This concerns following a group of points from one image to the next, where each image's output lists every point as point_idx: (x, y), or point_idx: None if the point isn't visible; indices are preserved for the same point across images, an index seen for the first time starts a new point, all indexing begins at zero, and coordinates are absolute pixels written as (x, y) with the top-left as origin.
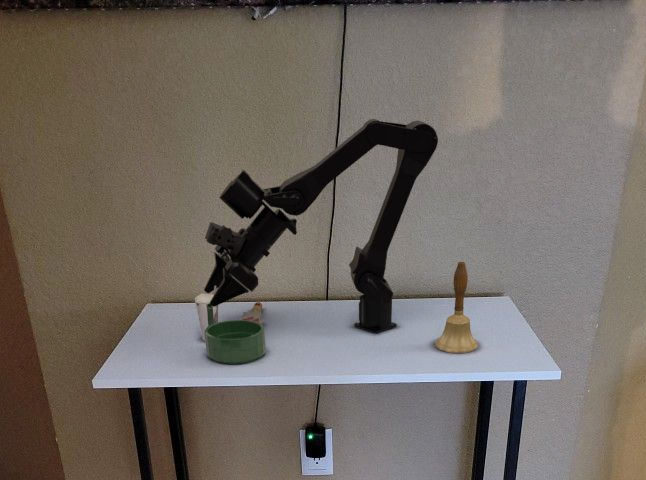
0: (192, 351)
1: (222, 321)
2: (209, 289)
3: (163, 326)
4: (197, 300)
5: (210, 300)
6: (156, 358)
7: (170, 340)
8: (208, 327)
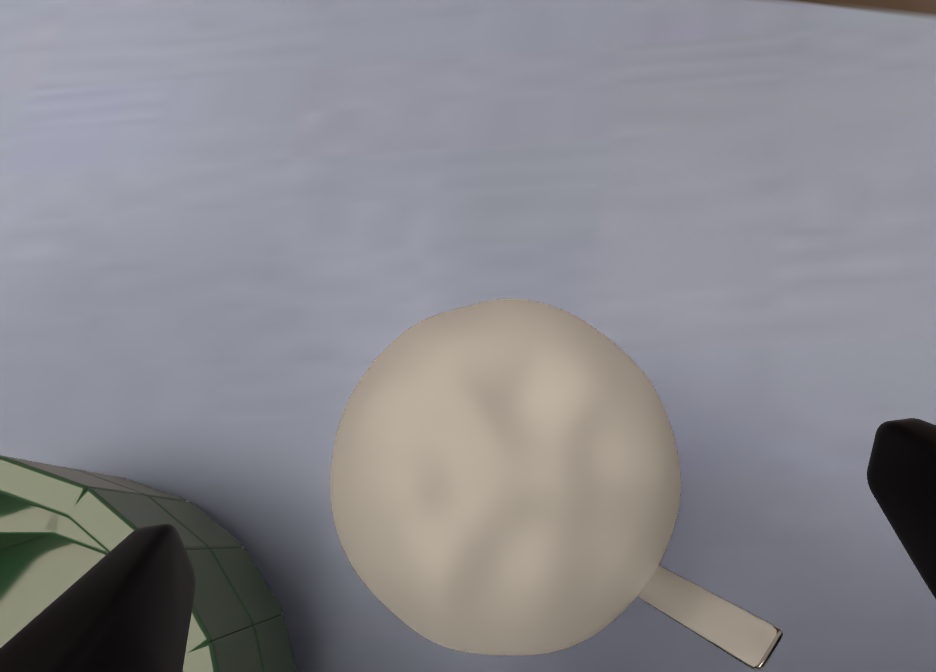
0: (243, 366)
1: (205, 662)
2: (914, 507)
3: (820, 144)
4: (403, 335)
5: (347, 531)
6: (177, 144)
7: (510, 207)
8: (49, 495)
